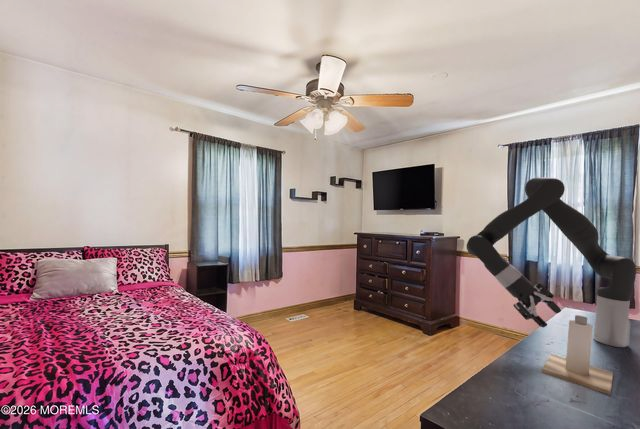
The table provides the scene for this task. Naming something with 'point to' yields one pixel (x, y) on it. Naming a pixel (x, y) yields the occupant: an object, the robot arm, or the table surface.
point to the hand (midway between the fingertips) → (552, 319)
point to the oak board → (579, 375)
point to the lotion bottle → (579, 345)
